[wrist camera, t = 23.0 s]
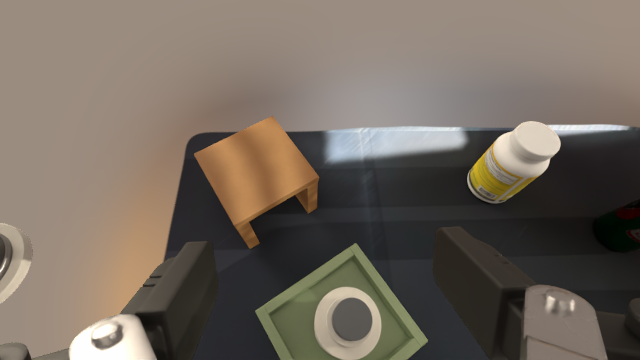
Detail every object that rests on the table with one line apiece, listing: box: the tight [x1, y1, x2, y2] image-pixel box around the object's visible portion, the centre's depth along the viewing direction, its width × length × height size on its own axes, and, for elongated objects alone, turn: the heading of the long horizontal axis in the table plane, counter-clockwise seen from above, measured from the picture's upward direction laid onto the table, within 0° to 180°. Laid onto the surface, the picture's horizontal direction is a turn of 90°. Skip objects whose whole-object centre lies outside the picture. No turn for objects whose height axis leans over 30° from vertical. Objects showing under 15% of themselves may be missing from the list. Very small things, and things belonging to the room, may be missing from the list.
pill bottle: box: [467, 122, 560, 203], centre depth 38 cm, size 6×6×11 cm
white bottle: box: [314, 287, 381, 360], centre depth 27 cm, size 5×5×12 cm
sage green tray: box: [255, 243, 428, 360], centre depth 32 cm, size 13×12×4 cm
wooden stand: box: [194, 116, 319, 249], centre depth 37 cm, size 10×10×9 cm
